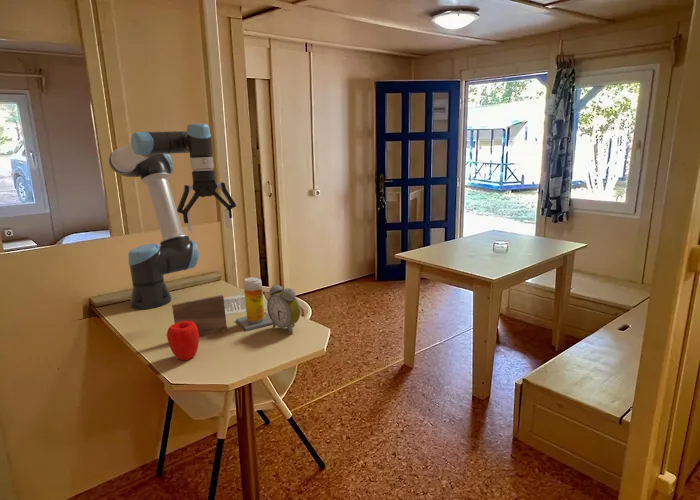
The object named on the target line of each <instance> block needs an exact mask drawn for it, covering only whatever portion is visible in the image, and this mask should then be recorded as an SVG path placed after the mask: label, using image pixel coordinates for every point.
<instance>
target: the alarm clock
mask: <svg viewBox="0 0 700 500" xmlns="http://www.w3.org/2000/svg"><path fill="white" fill-rule="evenodd" d="M268 293H269V297H268V299H267V302H266V309H267V313H268V314H269V317H270V319H271V320H272V322H273V325H272V327H273V328H275V327H278V328H280V329H284V328H287V329H288V331H289V333H290V335H293V334H294V331H293V327H296V325H295V324H296V323H297V322H298V321H299V319H300V317H301V307H300V304H299V303H300V302H299V301H298V299H297V295H296V292H295V291H294V289H292V288H290V287H285V288H284V287H283V286H281V285H279V284H272V286H271V287H270V288H269V292H268Z"/></svg>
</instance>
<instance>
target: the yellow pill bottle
mask: <svg viewBox="0 0 700 500" xmlns="http://www.w3.org/2000/svg"><path fill="white" fill-rule="evenodd" d="M262 282H263V281H262V279H261V278H260V277H258V276H250V277H246V278H245V279H244V281H243V289H244V291H243V292H244V301H245V310H246V311H245V312H246V316H247V320H249V322H251V323H257V322H261V321H263V319H264V318H265V314H264V312H265V304H264V292H263V284H262Z"/></svg>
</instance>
